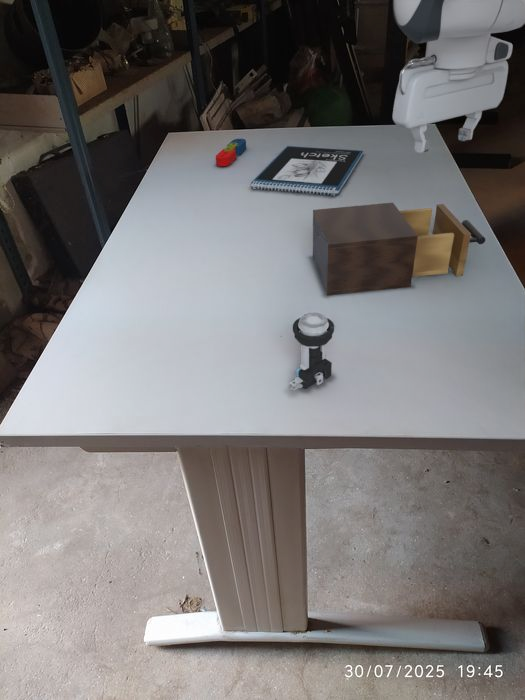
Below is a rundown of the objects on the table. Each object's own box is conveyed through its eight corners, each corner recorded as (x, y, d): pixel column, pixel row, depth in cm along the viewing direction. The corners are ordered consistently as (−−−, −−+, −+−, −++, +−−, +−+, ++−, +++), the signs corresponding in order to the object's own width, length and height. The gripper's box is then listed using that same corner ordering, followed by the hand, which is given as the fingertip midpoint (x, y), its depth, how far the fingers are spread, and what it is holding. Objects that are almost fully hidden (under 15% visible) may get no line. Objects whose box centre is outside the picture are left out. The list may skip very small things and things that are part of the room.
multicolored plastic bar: (227, 168, 143) (226, 156, 141) (214, 167, 144) (213, 156, 142) (248, 148, 155) (247, 137, 154) (235, 147, 156) (234, 136, 155)
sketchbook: (362, 155, 146) (363, 147, 145) (337, 198, 124) (337, 189, 123) (287, 150, 152) (286, 142, 151) (249, 190, 130) (249, 181, 129)
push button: (304, 402, 71) (303, 342, 65) (278, 382, 75) (275, 323, 68) (340, 380, 74) (343, 320, 68) (314, 362, 78) (314, 303, 72)
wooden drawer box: (388, 250, 103) (393, 202, 97) (410, 287, 92) (418, 235, 86) (312, 257, 102) (312, 209, 96) (326, 295, 91) (328, 244, 86)
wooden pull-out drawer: (458, 240, 103) (465, 201, 98) (486, 273, 93) (496, 231, 88) (367, 249, 102) (370, 210, 97) (385, 283, 92) (390, 241, 87)
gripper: (417, 64, 75) (407, 164, 83) (521, 44, 82) (502, 138, 90) (387, 58, 79) (380, 154, 88) (488, 40, 86) (473, 129, 95)
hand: (443, 145), depth 89 cm, fingers open, 8 cm apart
